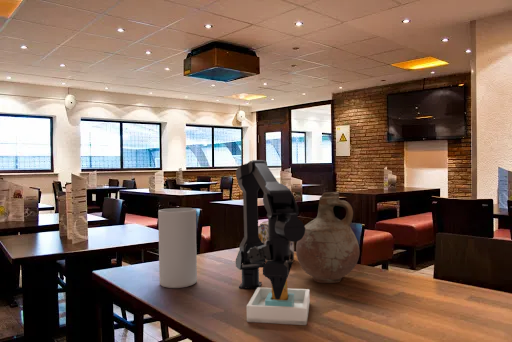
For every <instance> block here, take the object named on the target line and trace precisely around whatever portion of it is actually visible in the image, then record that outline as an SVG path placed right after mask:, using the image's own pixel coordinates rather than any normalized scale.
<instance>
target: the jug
mask: <svg viewBox="0 0 512 342" xmlns="http://www.w3.org/2000/svg"><path fill="white" fill-rule="evenodd" d="M335 207H341V208H344V210H345V217H344V218H342V219H339V218H338V217H337V216H336V215H335V213H334V208H335ZM353 217H354V210H353V207H352V205H351V204H350V202H348V201H346V200H342V199H340V193H339V192H336V191H335V192H334V191H333V192H323V193H322V195H321V196H320V197H319V199H318V209H317V216H316V217H315V218H314V219H313V220H311V221H309V222H308V223H306V224H304V227H305V234H304V236H303V238H302V239H301V240H299V241H297V242H296V245H295V253H296V258H297V261H298V263H299V265H300V267H301V269H302V270H303V271H304V272H305V273H306V274H307V275H309V276H310V277H312V279H313V281H315V282H316V283H320V284H335V283H340V281H341V280H342V278H344V277H346V276H347V275H348V274H350V273H351V272H352V271H353V270H354V269H355V267H356V266H357V263H358V261H359V258H360V252H361V249H360V246H359V241H358V239H357V237H356V234H355V232H354V231H353V229H352V226H351V224H352V221H353Z"/></svg>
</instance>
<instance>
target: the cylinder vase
mask: <svg viewBox="0 0 512 342" xmlns="http://www.w3.org/2000/svg"><path fill="white" fill-rule="evenodd" d="M157 215H158V217H157V218H158V256H159V257H158V263H159V264H158V266H159V267H158V268H159V271H158V272H159V273H158V275H159V277H158V278H159V284H160V286H161V287H163V288H167V289H181V288H187V287H190V286H193V285H195V284H196V283H197V282H198V281H197V280H198V268H197V267H198V266H197V264H198V262H197V258H198V257H197V253H198V252H197V210H196V208H191V207H180V208H177V207H176V208H175V207H174V208H163V209H159V210H158V212H157Z"/></svg>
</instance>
